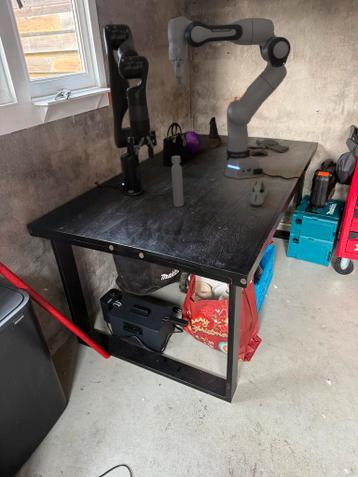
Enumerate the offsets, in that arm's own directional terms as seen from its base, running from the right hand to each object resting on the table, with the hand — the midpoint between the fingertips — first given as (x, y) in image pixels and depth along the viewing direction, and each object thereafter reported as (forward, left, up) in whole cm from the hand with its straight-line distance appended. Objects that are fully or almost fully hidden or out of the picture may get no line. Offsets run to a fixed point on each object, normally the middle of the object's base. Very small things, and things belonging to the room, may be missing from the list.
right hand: (179, 86), depth 168 cm
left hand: (+16, +56, -21) cm, 62 cm away
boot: (-26, -68, -48) cm, 87 cm away
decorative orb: (-6, -49, -48) cm, 69 cm away
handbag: (+4, -29, -48) cm, 56 cm away
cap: (+4, +39, -25) cm, 47 cm away
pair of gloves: (-56, -45, -48) cm, 86 cm away
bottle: (+4, +39, -48) cm, 62 cm away
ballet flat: (-36, +36, -48) cm, 70 cm away
